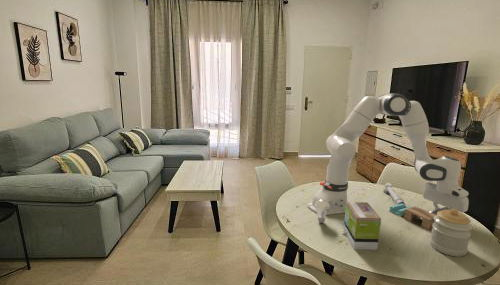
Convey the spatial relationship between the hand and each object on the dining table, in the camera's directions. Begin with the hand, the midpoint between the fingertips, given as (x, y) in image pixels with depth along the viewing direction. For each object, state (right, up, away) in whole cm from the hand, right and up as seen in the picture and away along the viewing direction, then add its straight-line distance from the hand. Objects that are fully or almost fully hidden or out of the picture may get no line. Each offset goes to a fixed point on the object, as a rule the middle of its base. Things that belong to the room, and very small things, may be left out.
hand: (442, 212), depth 145 cm
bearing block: (-15, -3, -7) cm, 17 cm away
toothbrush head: (-15, +3, +21) cm, 26 cm away
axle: (-4, -2, -1) cm, 4 cm away
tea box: (-52, -6, -23) cm, 57 cm away
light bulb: (-65, -3, -9) cm, 66 cm away
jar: (-17, -8, -28) cm, 34 cm away
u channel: (-19, -1, +4) cm, 20 cm away
